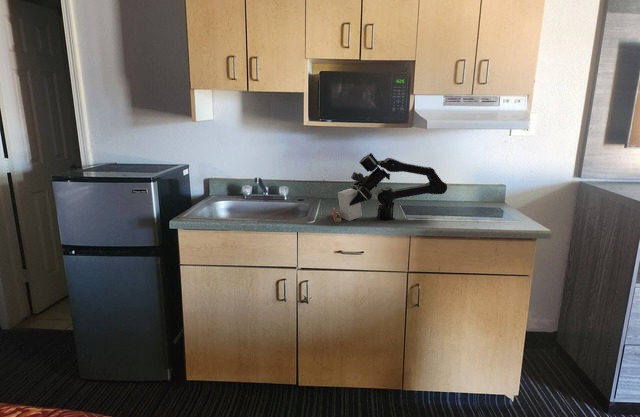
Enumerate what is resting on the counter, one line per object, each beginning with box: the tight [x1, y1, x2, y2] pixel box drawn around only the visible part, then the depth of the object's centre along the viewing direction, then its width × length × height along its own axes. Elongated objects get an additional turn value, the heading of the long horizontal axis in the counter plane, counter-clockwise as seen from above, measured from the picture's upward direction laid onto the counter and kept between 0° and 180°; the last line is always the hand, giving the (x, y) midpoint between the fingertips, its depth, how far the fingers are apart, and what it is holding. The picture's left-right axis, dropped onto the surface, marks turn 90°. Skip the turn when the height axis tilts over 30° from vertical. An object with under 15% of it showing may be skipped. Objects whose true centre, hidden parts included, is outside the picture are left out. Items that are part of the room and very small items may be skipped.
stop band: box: [332, 207, 342, 223], centre depth 196 cm, size 3×11×4 cm, turn 4°
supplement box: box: [337, 188, 363, 222], centre depth 194 cm, size 7×7×13 cm
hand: (348, 202), depth 194 cm, fingers open, 9 cm apart
